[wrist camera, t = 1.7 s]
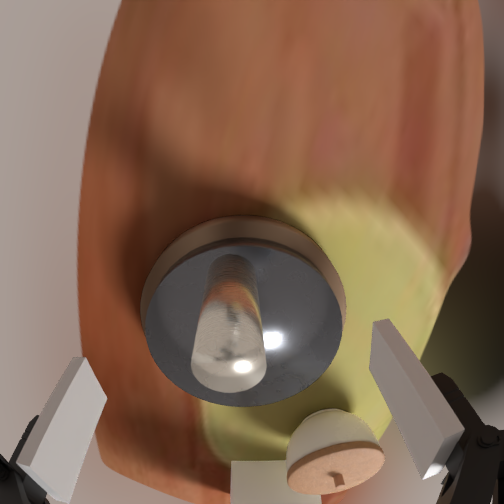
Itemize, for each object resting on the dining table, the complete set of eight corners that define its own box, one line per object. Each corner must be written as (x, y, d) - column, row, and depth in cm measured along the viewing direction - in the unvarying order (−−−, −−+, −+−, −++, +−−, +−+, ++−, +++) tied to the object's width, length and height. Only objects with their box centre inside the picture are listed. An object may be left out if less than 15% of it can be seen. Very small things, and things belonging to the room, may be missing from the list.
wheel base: (335, 201, 24) (343, 207, 22) (339, 367, 30) (344, 380, 28) (123, 233, 24) (114, 241, 22) (175, 388, 31) (172, 402, 29)
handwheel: (335, 377, 28) (367, 472, 18) (178, 397, 28) (163, 494, 18) (332, 223, 22) (401, 299, 12) (128, 253, 23) (61, 341, 12)
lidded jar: (285, 397, 32) (297, 469, 23) (376, 390, 32) (404, 452, 23) (275, 449, 35) (282, 510, 27) (353, 442, 36) (371, 497, 27)
